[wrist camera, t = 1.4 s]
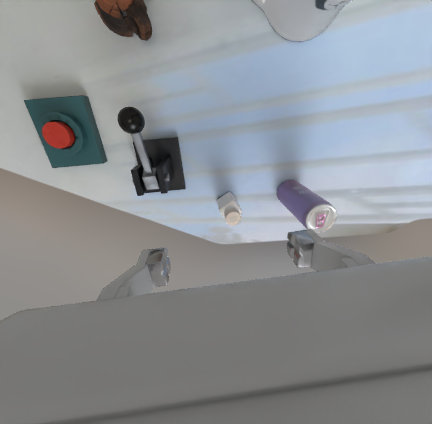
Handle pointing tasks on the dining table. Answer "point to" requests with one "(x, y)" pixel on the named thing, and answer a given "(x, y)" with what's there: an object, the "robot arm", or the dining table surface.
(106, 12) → the brown clay jug
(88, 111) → the teal base plate
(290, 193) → the beverage can
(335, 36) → the dining table surface
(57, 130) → the button
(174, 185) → the lever stand
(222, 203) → the pepper shaker
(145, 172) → the lever handle
